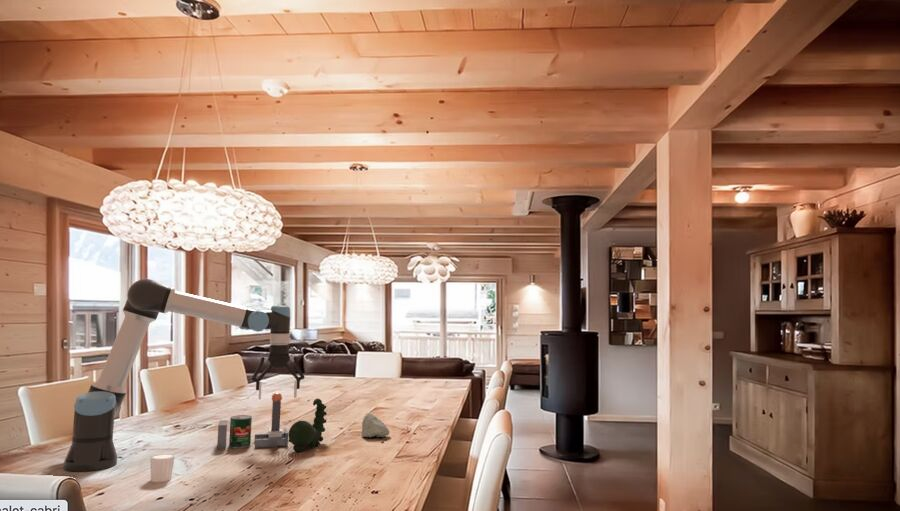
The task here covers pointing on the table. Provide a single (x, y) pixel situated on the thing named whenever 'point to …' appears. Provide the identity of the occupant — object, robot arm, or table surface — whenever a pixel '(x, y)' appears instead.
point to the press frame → (260, 439)
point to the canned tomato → (240, 431)
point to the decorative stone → (373, 427)
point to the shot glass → (161, 467)
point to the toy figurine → (308, 430)
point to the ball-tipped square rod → (275, 417)
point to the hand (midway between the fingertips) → (277, 398)
